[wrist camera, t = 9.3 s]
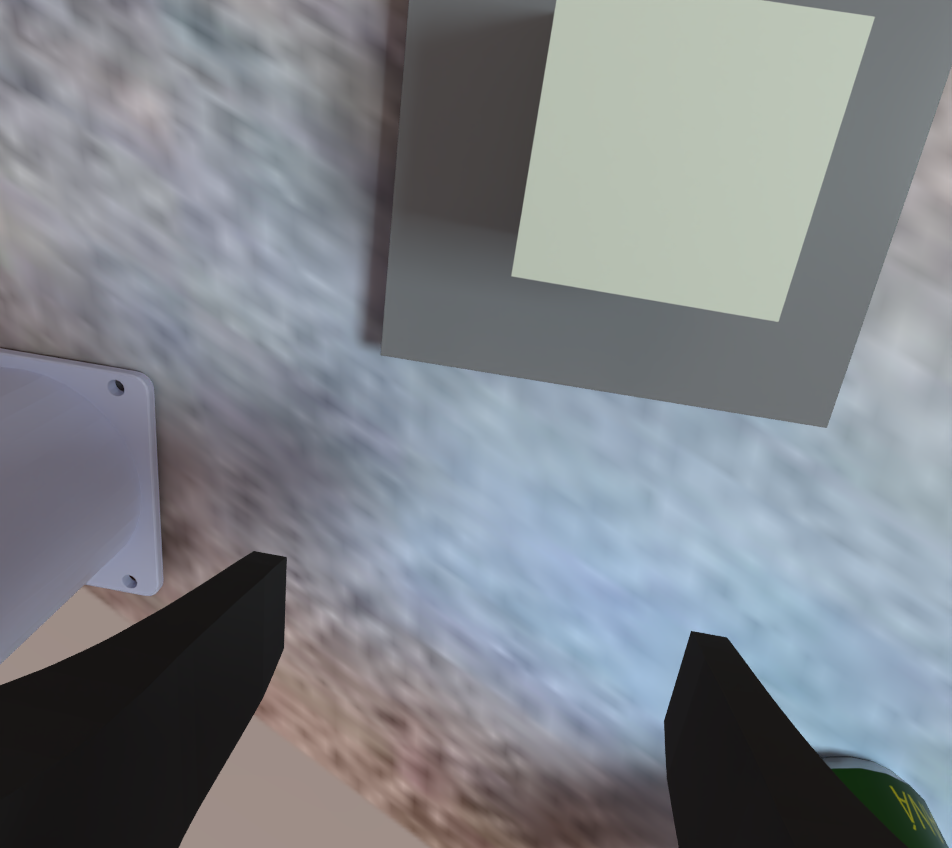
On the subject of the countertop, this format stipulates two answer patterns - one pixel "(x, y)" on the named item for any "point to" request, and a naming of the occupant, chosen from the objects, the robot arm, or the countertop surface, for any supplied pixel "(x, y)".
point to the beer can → (889, 801)
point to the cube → (684, 147)
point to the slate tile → (617, 316)
